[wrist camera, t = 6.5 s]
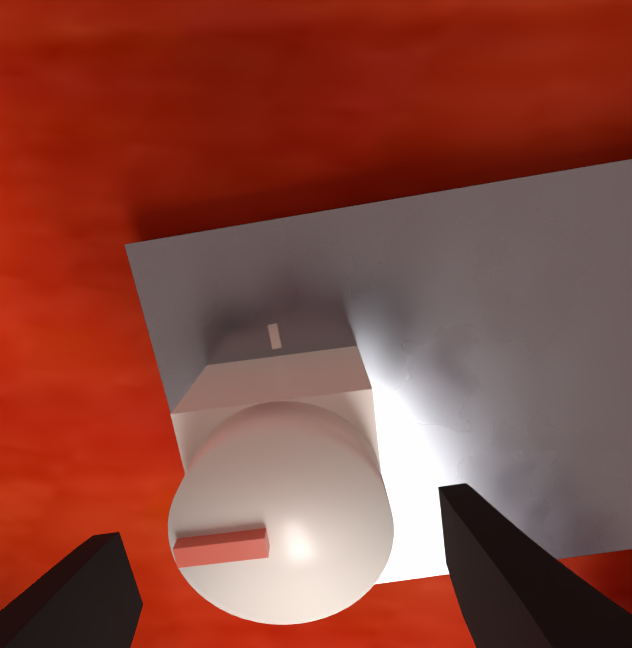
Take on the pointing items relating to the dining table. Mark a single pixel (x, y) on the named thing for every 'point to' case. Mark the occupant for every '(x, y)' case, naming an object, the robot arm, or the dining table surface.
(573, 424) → the panel
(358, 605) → the dining table surface
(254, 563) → the knob
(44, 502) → the dining table surface
